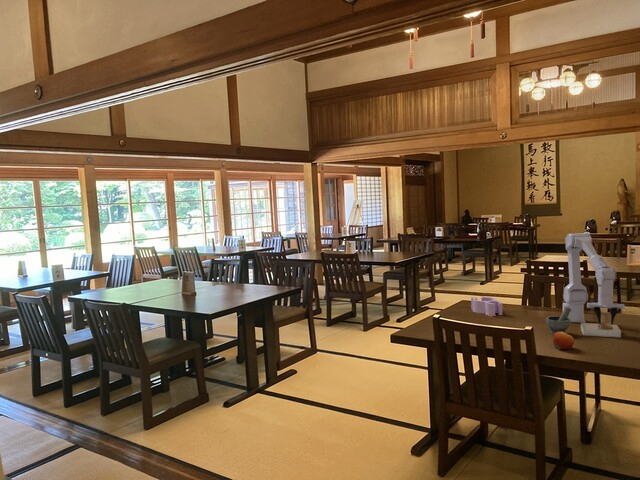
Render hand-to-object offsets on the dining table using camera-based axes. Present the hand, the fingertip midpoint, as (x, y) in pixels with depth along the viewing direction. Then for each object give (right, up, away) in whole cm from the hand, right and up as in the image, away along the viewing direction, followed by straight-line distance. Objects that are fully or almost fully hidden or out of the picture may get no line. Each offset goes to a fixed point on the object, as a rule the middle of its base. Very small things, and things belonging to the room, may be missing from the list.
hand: (605, 324), depth 222 cm
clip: (-37, -2, +48) cm, 61 cm away
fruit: (-27, -7, -17) cm, 33 cm away
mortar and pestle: (-19, -5, +4) cm, 20 cm away
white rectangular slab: (-2, -4, +1) cm, 5 cm away
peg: (0, -3, +1) cm, 3 cm away
